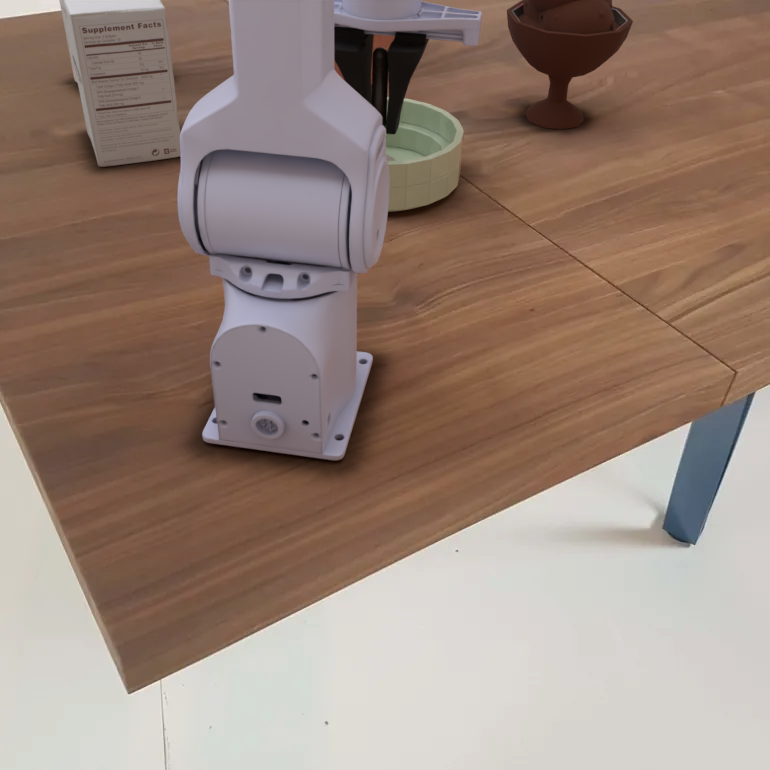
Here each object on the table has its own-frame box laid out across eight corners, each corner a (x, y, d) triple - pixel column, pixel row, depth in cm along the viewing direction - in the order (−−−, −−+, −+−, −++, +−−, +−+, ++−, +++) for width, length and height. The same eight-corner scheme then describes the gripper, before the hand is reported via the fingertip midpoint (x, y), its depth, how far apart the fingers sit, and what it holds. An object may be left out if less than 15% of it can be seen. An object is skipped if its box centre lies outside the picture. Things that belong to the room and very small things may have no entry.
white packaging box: (86, 134, 81) (57, -15, 74) (169, 124, 84) (150, -22, 76) (96, 169, 76) (67, 13, 68) (185, 158, 78) (166, 4, 70)
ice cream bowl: (613, 146, 82) (647, -31, 73) (489, 133, 84) (507, -42, 75) (614, 102, 91) (645, -62, 81) (501, 91, 92) (519, -72, 83)
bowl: (449, 226, 70) (453, 172, 68) (282, 208, 72) (279, 154, 69) (466, 153, 80) (470, 104, 78) (319, 139, 82) (319, 90, 79)
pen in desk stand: (392, 187, 74) (397, 55, 67) (356, 183, 74) (357, 52, 67) (398, 171, 76) (403, 42, 69) (363, 167, 76) (364, 39, 70)
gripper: (491, -65, 66) (475, 116, 75) (295, -79, 68) (301, 100, 76) (483, -40, 61) (466, 152, 69) (270, -55, 62) (279, 134, 71)
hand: (378, 127), depth 72 cm, fingers closed
